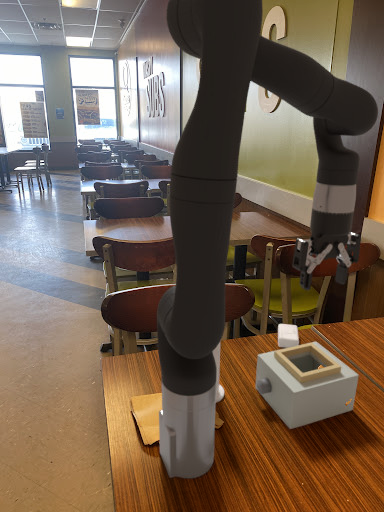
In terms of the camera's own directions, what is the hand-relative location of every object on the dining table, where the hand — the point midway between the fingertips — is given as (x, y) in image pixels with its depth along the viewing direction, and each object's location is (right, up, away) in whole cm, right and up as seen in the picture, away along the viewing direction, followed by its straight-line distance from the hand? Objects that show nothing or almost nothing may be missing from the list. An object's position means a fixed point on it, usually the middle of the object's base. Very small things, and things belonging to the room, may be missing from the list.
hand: (323, 285), depth 80 cm
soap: (+1, -18, +33) cm, 38 cm away
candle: (-23, -26, +10) cm, 36 cm away
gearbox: (-2, -26, +9) cm, 28 cm away
